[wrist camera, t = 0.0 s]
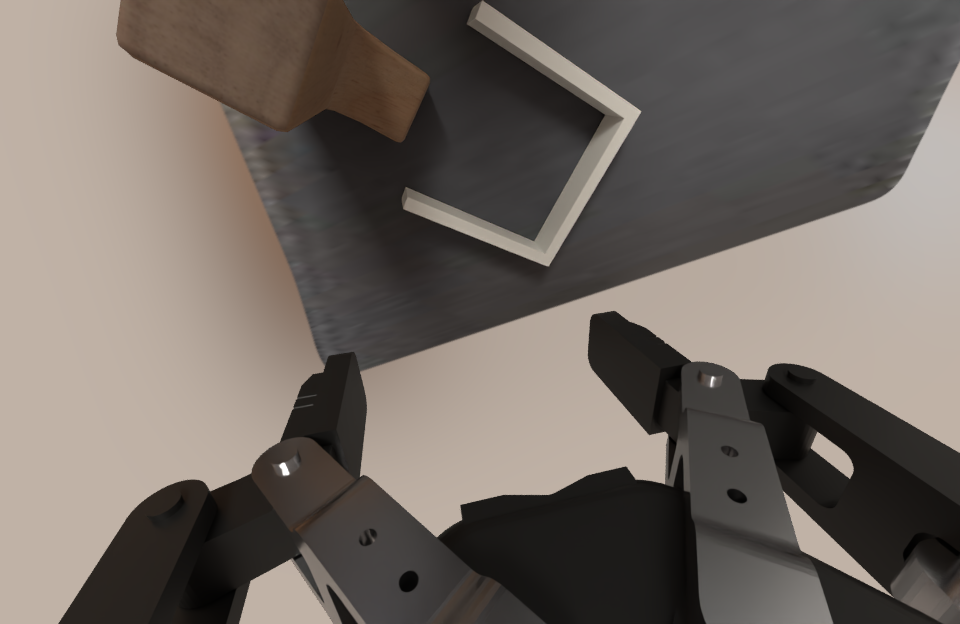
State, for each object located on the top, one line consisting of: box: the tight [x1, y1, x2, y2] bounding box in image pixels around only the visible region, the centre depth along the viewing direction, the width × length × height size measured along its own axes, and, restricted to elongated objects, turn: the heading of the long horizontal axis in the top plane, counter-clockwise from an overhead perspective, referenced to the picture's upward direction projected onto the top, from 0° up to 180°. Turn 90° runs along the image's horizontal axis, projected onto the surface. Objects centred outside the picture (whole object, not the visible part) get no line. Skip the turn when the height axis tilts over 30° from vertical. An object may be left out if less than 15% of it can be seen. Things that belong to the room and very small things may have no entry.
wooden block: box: [116, 0, 430, 142], centre depth 18 cm, size 9×4×18 cm, turn 59°
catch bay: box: [402, 0, 641, 267], centre depth 30 cm, size 14×14×3 cm
